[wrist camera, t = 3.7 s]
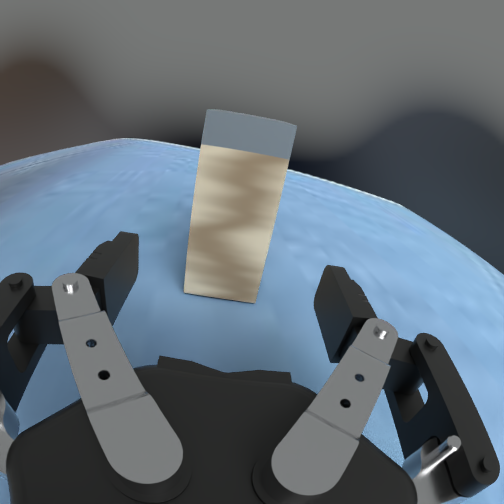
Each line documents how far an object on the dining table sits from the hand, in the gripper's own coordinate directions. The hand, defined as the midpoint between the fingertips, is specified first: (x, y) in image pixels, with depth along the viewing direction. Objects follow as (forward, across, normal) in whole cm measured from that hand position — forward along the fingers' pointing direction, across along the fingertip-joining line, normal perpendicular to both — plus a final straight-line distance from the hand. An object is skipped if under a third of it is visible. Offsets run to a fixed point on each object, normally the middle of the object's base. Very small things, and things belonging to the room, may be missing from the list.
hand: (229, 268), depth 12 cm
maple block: (+9, 0, +6) cm, 10 cm away
